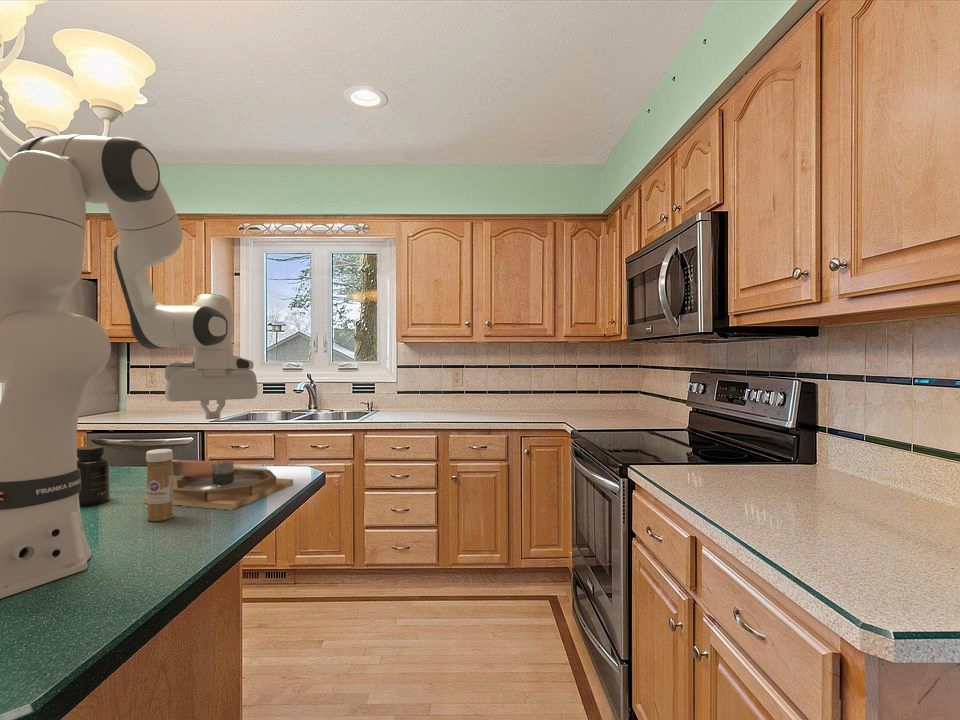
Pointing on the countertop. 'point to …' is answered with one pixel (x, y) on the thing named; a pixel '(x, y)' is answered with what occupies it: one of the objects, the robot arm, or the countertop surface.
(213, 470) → the dial
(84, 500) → the supplement bottle
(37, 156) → the robot arm
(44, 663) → the countertop surface
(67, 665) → the countertop surface
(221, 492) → the dial housing
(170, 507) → the sprinkles bottle
